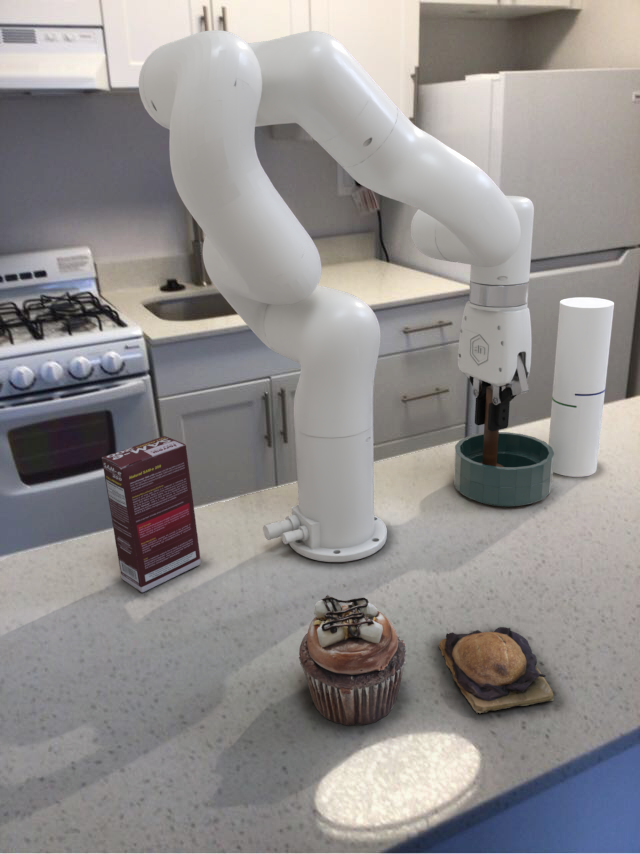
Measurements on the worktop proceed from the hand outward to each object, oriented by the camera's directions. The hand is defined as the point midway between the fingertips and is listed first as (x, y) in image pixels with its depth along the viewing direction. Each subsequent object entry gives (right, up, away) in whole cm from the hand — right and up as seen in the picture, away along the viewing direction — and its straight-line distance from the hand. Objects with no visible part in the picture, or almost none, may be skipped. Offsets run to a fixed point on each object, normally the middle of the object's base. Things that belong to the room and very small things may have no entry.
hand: (491, 425), depth 105 cm
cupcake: (-21, -25, -36) cm, 48 cm away
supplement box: (-43, -18, -15) cm, 49 cm away
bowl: (+2, -9, +3) cm, 10 cm away
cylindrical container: (+14, -6, +9) cm, 18 cm away
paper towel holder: (0, -7, +3) cm, 8 cm away
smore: (-7, -24, -34) cm, 42 cm away
